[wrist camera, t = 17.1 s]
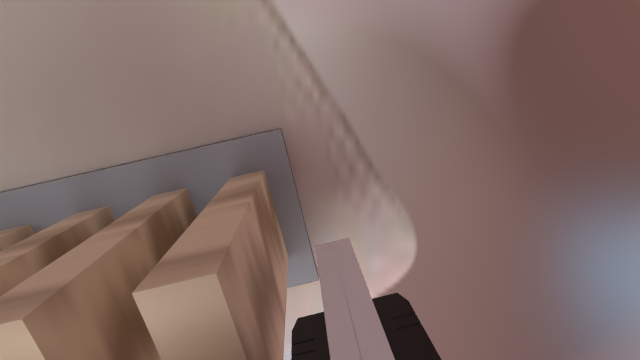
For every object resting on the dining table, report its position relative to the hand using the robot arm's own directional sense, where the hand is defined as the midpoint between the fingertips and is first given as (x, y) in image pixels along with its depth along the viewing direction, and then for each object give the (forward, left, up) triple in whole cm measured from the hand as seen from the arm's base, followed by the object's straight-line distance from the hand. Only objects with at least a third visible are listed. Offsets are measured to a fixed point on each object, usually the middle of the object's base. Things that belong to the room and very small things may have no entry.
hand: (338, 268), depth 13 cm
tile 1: (0, -5, -9) cm, 10 cm away
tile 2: (0, -10, -9) cm, 13 cm away
